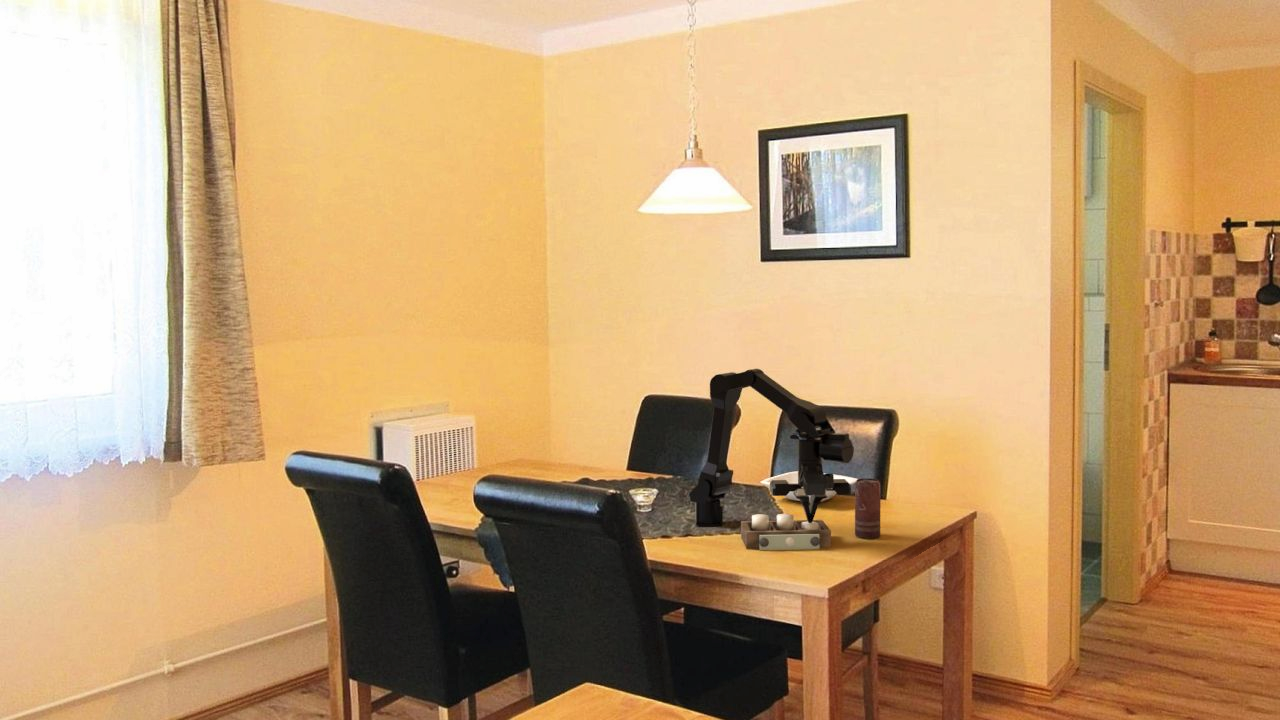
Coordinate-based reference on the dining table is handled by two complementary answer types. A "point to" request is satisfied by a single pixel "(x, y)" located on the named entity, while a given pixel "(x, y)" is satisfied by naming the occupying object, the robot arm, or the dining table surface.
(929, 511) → the dining table surface
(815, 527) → the button right
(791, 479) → the bowl
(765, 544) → the card
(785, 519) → the button mid
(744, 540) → the brown compartment tray
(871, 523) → the can
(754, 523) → the button left
